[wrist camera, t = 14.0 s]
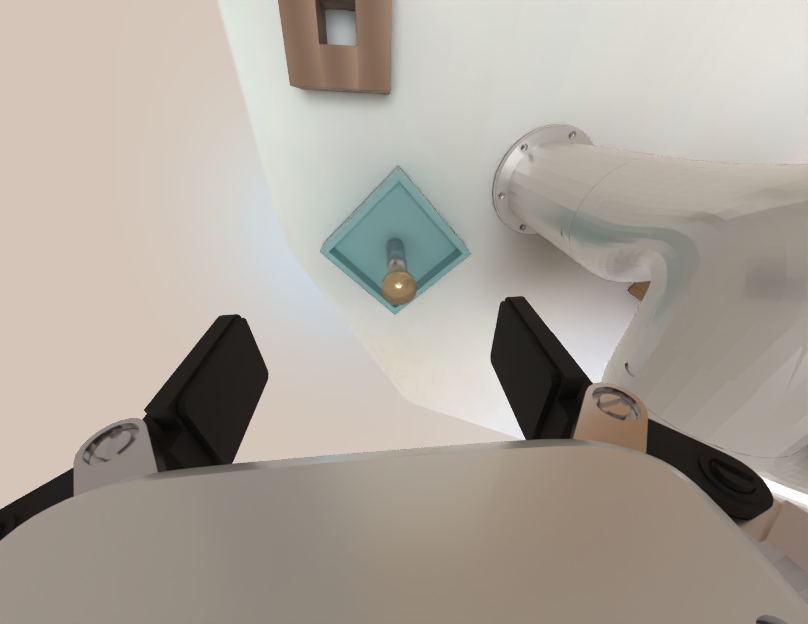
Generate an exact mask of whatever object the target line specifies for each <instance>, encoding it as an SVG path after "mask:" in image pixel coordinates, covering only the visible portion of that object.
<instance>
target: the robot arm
mask: <svg viewBox="0 0 808 624" xmlns="http://www.w3.org/2000/svg"><path fill="white" fill-rule="evenodd" d="M569 134H570V136H569ZM522 145H523V148H522V149H521V150H520V148H521V146H522ZM499 193H501V195H500V196H498V195H499ZM493 200H494V205H495V209H496V212H497V213H498V215H499V217H500V219H501V220H502V221H503V222H504V223H505V224H506V225H507V226H509V227H510V228H511V229H513V230H515V231H517V232H520V233H524V234H540V235H542V236H543V237H544V238H546V239H547V240H548V241H550V242H551V243H552V244H554V245H555V246H556V247H557V248H559V249H560V250H561V251H563V252H564V253H565V254H567V255H568V256H569V257H571V258H572V259H573V260H575V261H576V262H577V263H579V264H580V265H582V266H583V267H584V268H586V269H587V270H588V271H590V272H591V273H593V274H595V275H596V276H598V277H601V278H603V279H606V280H610V281H615V282H626V283H629V282H645V281H651V282H650V285H649V288H648V290H647V292H646V294H645V296H644V298H643V300H642V301H641V303H640V305H639V307H638V311H637V312H636V314H635V316H634V318H633V319H632V321H631V323H630V325H629V326H628V328H627V330H626V332H625V333H624V335H623V337H622V339H621V340H620V342H619V344H618V346H617V347H616V349H615V351H614V353H613V355H612V357H611V359H610V361H609V362H608V365H607V367H606V369H605V371H604V374H603V378H602V383H594V384H593V383H592V382H591V381H590V379H589V378H588V377H587V375H586V374H585V373H584V372H583V370H582V369H581V368H580V367H579V365H578V364H577V363H576V362H575V360H574V359H573V358H572V357H571V355H570V354H569V353H568V351H567V350H566V349H565V348H564V346H563V345H562V344H561V343H560V341H559V340H558V339H557V338H556V336H555V335H554V334H553V333H552V332H551V331H550V329H549V328H548V327H547V326H546V324H545V323H544V322H543V321H542V319H541V318H540V317H539V315H538V314H537V313H536V312H535V310H534V309H533V308H532V307H531V305H530V304H529V303H528V302H527V300H526V299H525V298H524V297H523V296H519V297H507V298H506V299H505V301H502V302H501V303H500V307H499V313H498V318H497V323H496V329H495V334H494V339H493V345H492V350H491V363H492V366H493V368H494V370H495V372H496V374H497V377H498V379H499V381H500V383H501V386H502V388H503V390H504V392H505V395H506V397H507V399H508V401H509V403H510V406H511V408H512V410H513V412H514V415H515V417H516V419H517V421H518V424H519V426H520V428H521V430H522V433H523V435H524V437H525V439H526V440H522V441H505V442H490V443H478V444H465V445H451V446H439V447H426V448H413V449H400V450H388V451H377V452H364V453H352V454H340V455H329V456H316V457H305V458H294V459H282V460H271V461H259V462H248V463H237V464H232V462H233V460H234V458H235V456H236V453H237V451H238V449H239V446H240V444H241V442H242V439H243V437H244V435H245V432H246V430H247V427H248V425H249V423H250V420H251V418H252V416H253V413H254V411H255V409H256V406H257V403H258V402H259V399H260V397H261V394H262V392H263V390H264V387H265V385H266V383H267V380H268V370H267V368H266V365H265V363H264V360H263V358H262V356H261V353H260V351H259V349H258V346H257V344H256V342H255V339H254V337H253V335H252V332H251V330H250V327H249V325H248V323H247V321H246V319H245V318H241V316H240V315H237V314H236V315H222V316H219V317H218V318H217V319H216V320H215V322H214V323H213V324H212V325H211V327H210V328H209V329H208V330H207V332H206V333H205V334H204V336H203V337H202V338H201V339H200V340H199V342H198V343H197V344H196V346H195V347H194V348H193V349H192V350H191V352H190V353H189V354H188V355H187V357H186V358H185V359H184V361H183V362H182V363H181V364H180V365H179V367H178V368H177V369H176V371H175V372H174V373H173V374H172V375H171V377H170V378H169V379H168V381H167V382H166V383H165V384H164V385H163V387H162V388H161V389H160V391H159V392H158V393H157V394H156V396H155V397H154V398H153V399H152V401H151V402H150V403H149V404H148V406H147V407H146V408H145V409H144V411H145V412H146V413H147V415H146V416H145V417H144V418H143V420H141V419H138V418H129V419H125V420H121V421H118V422H116V423H113V424H111V425H109V426H107V427H105V428H104V429H102V430H100V431H99V432H97V433H96V434H95V435H93V436H92V437H91V438H89V439H88V440H87V441H86V442H85V443H84V444H83V445H82V446H81V448H80V449H79V451H78V452H77V454H76V456H75V460H74V468H72V469H70V470H68V471H67V472H65V473H63V474H61V475H60V476H58V477H56V478H54V479H53V480H51V481H49V482H48V483H46V484H44V485H42V486H40V487H39V488H37V489H35V490H34V491H32V492H30V493H28V494H26V495H25V496H23V497H21V498H19V499H18V500H16V501H14V502H12V503H11V504H9V505H7V506H5V507H4V508H2V509H0V624H808V164H787V165H761V164H729V163H717V162H705V161H697V160H688V159H681V158H674V157H667V156H659V155H653V154H646V153H639V152H632V151H625V150H619V149H612V148H605V147H598V146H594V145H593V143H592V141H591V140H590V138H589V137H588V136H587V135H586V134H585V133H584V132H583V131H581V130H579V129H577V128H575V127H572V126H568V125H549V126H544V127H541V128H539V129H536V130H534V131H532V132H530V133H529V134H527V135H525V136H524V137H523V138H522V139H520V140H519V141H518V142H517V143H516V144H515V145H514V146H513V147H512V148H511V149H510V150H509V152H508V153H507V154H506V156H505V157H504V159H503V161H502V162H501V164H500V167H499V169H498V171H497V173H496V177H495V181H494V187H493ZM521 225H522V226H521ZM520 226H521V227H520Z"/></svg>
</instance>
